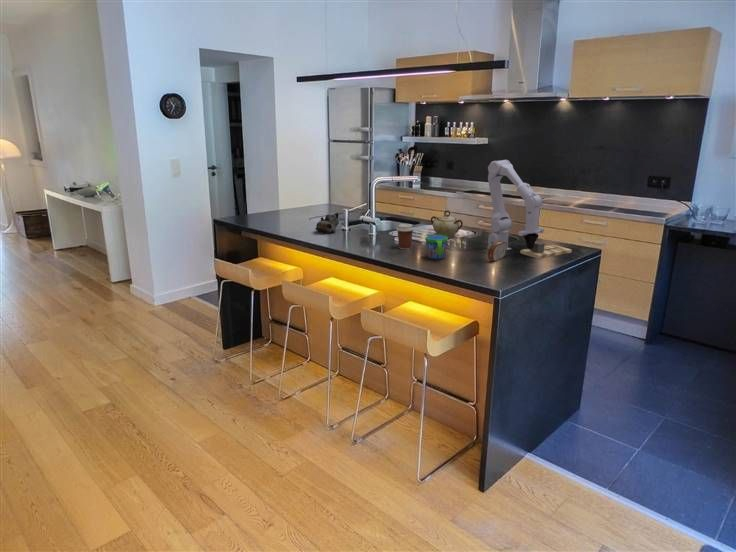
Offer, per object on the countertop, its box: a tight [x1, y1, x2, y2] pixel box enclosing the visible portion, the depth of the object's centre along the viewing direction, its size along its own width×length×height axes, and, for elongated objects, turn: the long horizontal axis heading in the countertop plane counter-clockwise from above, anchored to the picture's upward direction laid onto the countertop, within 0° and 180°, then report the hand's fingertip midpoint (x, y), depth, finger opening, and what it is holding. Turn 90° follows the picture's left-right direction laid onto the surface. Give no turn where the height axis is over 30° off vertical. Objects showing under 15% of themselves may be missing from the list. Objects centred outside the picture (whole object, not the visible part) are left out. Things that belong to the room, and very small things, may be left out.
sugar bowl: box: [430, 210, 464, 239], centre depth 284 cm, size 20×15×15 cm
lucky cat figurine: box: [314, 212, 340, 234], centre depth 302 cm, size 15×12×14 cm
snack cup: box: [425, 234, 449, 260], centre depth 243 cm, size 16×10×10 cm
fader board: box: [519, 244, 573, 260], centre depth 249 cm, size 22×12×2 cm, turn 117°
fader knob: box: [530, 241, 546, 253], centre depth 246 cm, size 4×5×4 cm
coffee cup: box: [395, 223, 415, 250], centre depth 262 cm, size 9×9×12 cm
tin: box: [487, 241, 507, 262], centre depth 239 cm, size 15×3×8 cm, turn 141°
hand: (529, 248), depth 244 cm, fingers closed
